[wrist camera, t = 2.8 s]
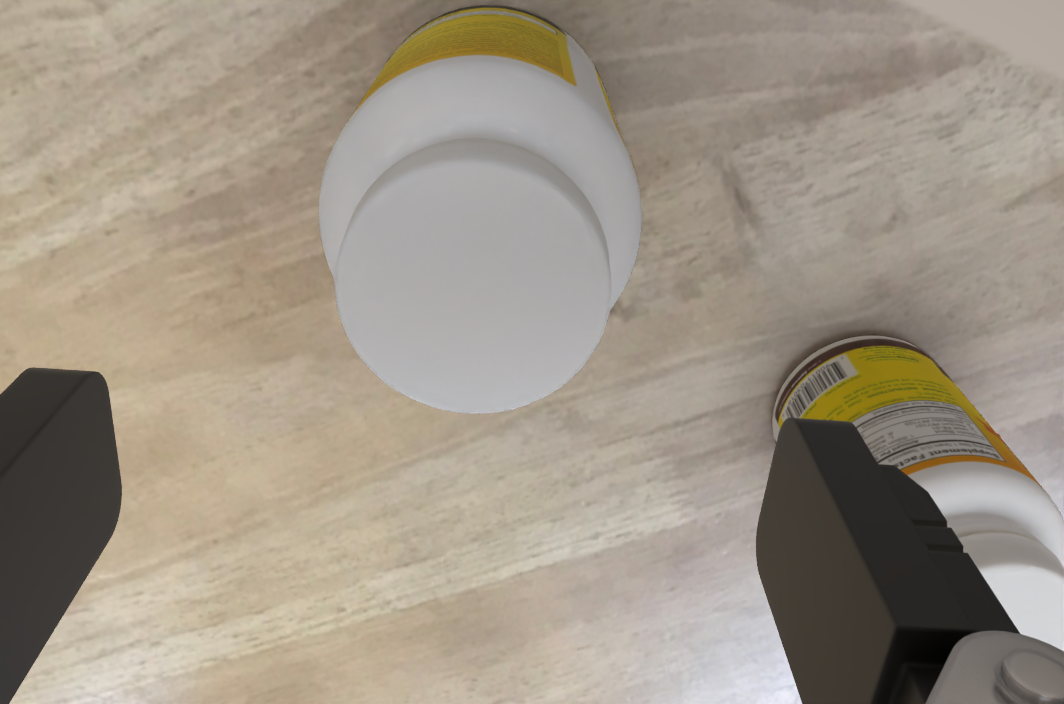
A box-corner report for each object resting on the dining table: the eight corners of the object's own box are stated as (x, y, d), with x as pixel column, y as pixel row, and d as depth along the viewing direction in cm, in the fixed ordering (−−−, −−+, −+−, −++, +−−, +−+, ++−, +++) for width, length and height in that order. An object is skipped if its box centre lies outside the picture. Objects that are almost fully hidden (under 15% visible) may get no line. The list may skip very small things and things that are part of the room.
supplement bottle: (926, 478, 32) (1087, 726, 22) (758, 478, 32) (851, 726, 22) (961, 326, 29) (1158, 536, 20) (778, 325, 29) (892, 536, 20)
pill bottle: (332, 60, 25) (199, 194, 15) (557, -42, 24) (579, 29, 14) (437, 269, 28) (385, 504, 18) (644, 186, 27) (715, 386, 17)
